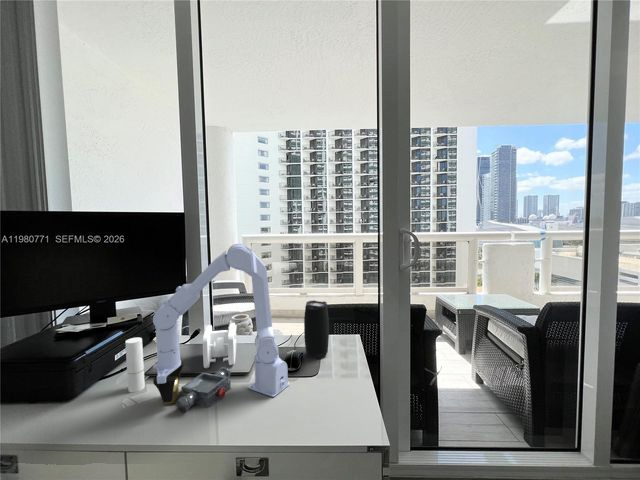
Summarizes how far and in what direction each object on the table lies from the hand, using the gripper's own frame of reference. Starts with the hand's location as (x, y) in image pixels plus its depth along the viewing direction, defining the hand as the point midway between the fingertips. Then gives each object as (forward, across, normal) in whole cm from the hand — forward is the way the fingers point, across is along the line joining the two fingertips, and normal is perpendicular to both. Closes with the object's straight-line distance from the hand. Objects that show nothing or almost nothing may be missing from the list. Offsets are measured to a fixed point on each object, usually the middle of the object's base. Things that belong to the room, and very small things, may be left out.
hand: (170, 395), depth 89 cm
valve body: (+2, -2, +9) cm, 9 cm away
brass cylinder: (+2, 0, 0) cm, 2 cm away
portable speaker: (+2, -21, +45) cm, 50 cm away
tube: (+2, -9, -12) cm, 15 cm away
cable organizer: (+2, -24, +11) cm, 26 cm away
